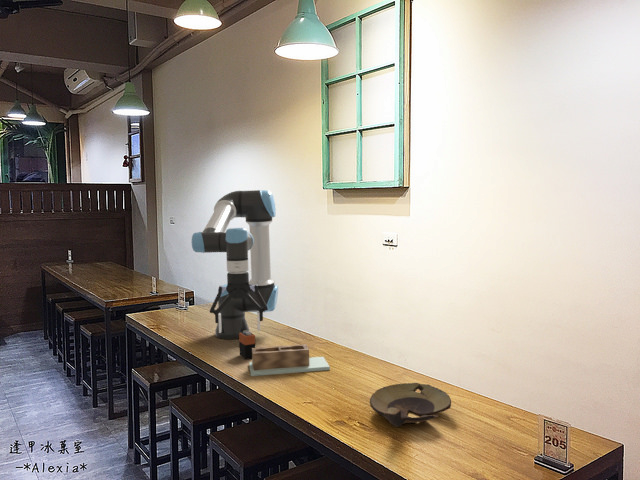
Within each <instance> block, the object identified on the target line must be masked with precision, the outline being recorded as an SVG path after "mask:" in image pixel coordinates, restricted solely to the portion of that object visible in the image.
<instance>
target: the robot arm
mask: <svg viewBox="0 0 640 480" xmlns="http://www.w3.org/2000/svg"><path fill="white" fill-rule="evenodd" d="M276 211H277V210H276V202H275V198H274V195H273V193H272V192H271V190H263V189H257V190H235V191H230V192H229V193H226V194H224V195H223V196H222V197H221V198H219V199H218V200H217V202H216V203H215V204H214V207H213V213H212V214H211V216H210V218H209V220H208V222H207V224H206V226H204V228H203V231H202V232H201V231H199V232H194V233H193V234H192V236H191V248H192V250H193V252H194V253H201V254H202V253H203V254H204V253H205V254H206V253H207V254H208V253H209V254H210V253H226V272H227V274H226V281H227V282H226V284H223V285H219V286H218V289H217V294H216V296H215V298H214V299H213V300H214V301H213V303H212V305H211V307H210V309H209V313H210V314H214V319H215V320H214V322H215V324H216V327H215V331H214V332H215V333H214V335H215V337H216V338H218V339H221V340H222V339H224V340H233V339H234V340H236V339H239V333H241V332H243V331H244V330H247V331H249V332H250V328H249V324H248V321H247V319H246V313H256V314H257V316H256V317H257V318H256V319H257V331H258V332H260V331H261V322H263V321H264V315H263V314H264V313H267V312H274V311H275V309H276V308H277V302H278V294H279V285H277V284H275V281H274V279H273V278H272V277H271V276H272V275H271V248H270V246H271V244H270V243H271V242H270V224H271V223H272V222H273V218H275V217H276ZM234 218H244V219H245V222H246V224H247V225H248V227H249V231H248V230H247V228H245V227H233V228H232V227H230V228H228V226H229V224H230V222H231V221H233V219H234ZM249 252H250V272H251V273H250V275H251V278H250V277H249V272H248V271H249ZM216 307H217V308H216ZM215 308H216V309H215Z"/></svg>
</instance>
